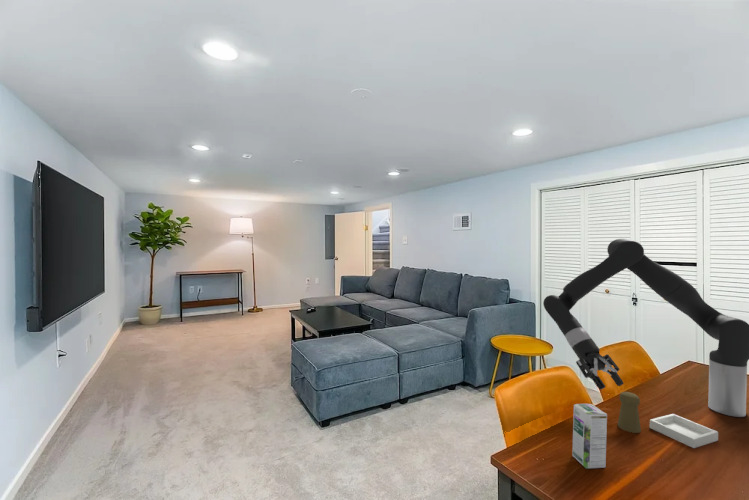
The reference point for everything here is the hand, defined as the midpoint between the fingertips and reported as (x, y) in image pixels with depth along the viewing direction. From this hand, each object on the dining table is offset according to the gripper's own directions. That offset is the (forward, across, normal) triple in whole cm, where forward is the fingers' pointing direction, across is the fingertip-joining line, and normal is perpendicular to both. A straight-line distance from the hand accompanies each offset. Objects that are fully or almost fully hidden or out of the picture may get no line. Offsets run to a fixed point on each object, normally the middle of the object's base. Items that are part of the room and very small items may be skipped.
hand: (612, 386), depth 114 cm
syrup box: (+18, -28, -2) cm, 33 cm away
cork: (+12, 0, +4) cm, 13 cm away
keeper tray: (+17, +12, -2) cm, 21 cm away
